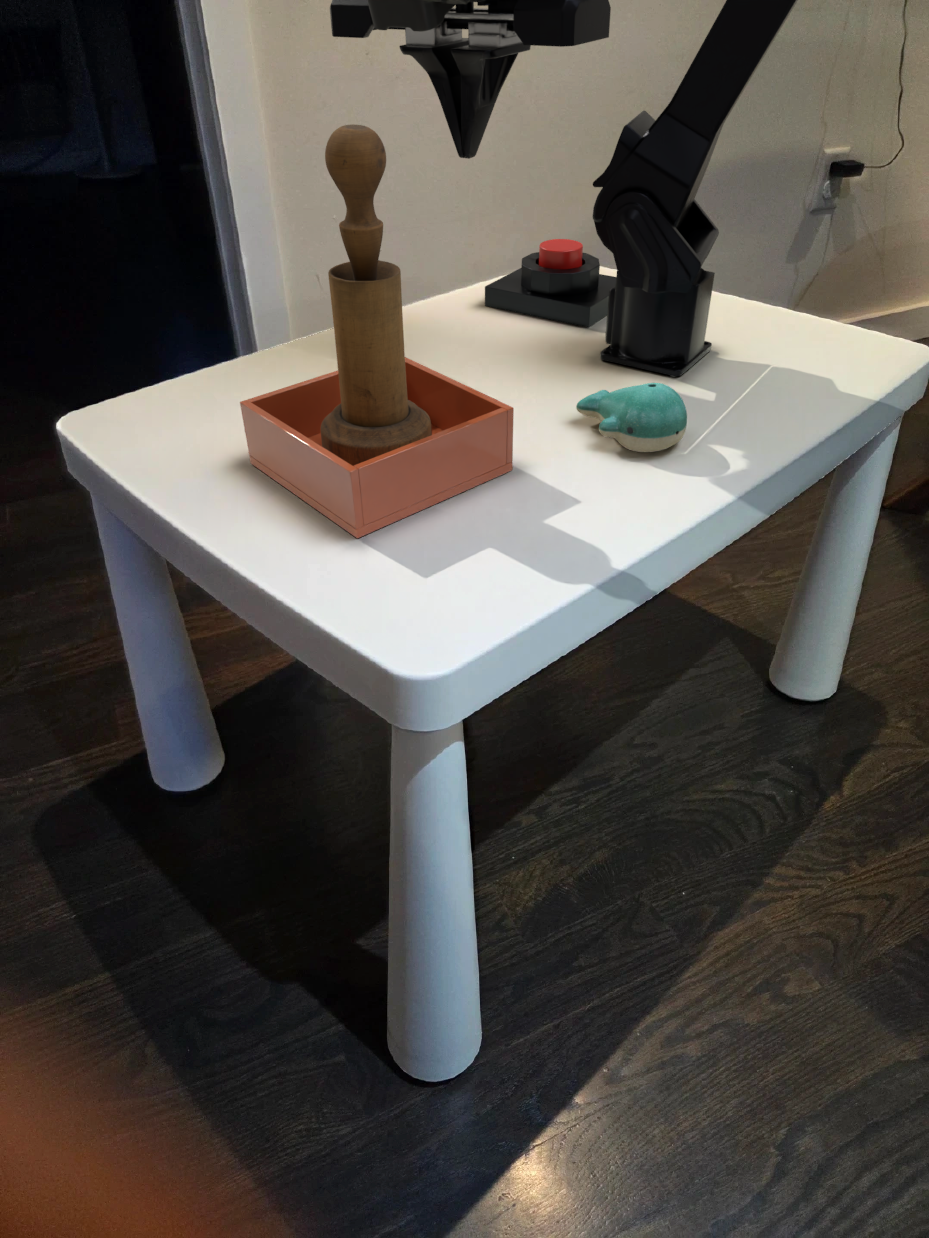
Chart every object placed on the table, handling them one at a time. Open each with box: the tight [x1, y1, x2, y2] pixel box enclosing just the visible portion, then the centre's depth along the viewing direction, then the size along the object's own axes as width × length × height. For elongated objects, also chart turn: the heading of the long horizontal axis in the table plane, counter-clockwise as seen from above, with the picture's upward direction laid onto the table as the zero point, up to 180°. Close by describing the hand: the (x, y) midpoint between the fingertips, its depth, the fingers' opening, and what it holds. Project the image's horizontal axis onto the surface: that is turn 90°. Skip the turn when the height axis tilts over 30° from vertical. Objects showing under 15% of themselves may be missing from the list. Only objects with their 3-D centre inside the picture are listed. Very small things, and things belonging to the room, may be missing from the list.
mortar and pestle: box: [321, 123, 432, 466], centre depth 50 cm, size 7×6×18 cm
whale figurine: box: [575, 382, 688, 453], centre depth 58 cm, size 6×7×4 cm
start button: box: [538, 238, 584, 269], centre depth 76 cm, size 4×4×2 cm
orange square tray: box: [239, 356, 515, 539], centre depth 55 cm, size 12×12×4 cm
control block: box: [484, 251, 616, 329], centre depth 78 cm, size 10×8×4 cm
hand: (467, 157), depth 66 cm, fingers closed
